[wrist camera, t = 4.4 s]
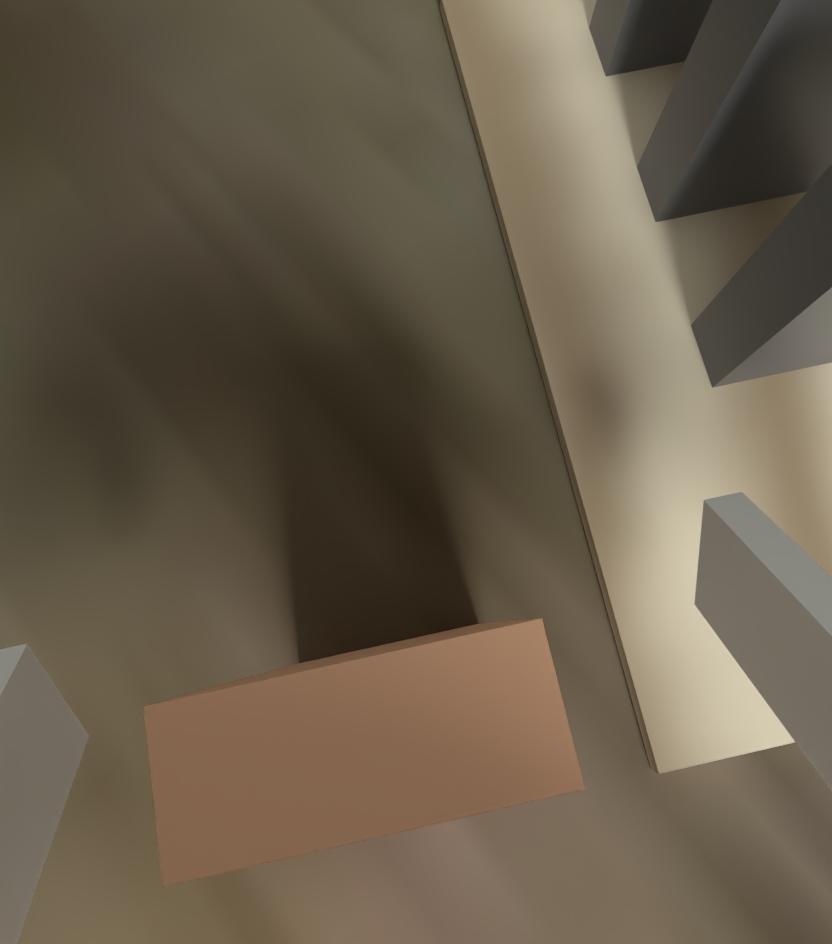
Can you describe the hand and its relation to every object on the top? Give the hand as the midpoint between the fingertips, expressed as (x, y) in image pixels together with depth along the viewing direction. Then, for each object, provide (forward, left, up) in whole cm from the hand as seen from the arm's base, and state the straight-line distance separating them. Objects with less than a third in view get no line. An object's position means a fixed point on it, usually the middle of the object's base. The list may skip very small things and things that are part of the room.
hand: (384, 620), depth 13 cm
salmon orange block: (0, -2, -5) cm, 5 cm away
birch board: (+13, +7, -5) cm, 16 cm away
